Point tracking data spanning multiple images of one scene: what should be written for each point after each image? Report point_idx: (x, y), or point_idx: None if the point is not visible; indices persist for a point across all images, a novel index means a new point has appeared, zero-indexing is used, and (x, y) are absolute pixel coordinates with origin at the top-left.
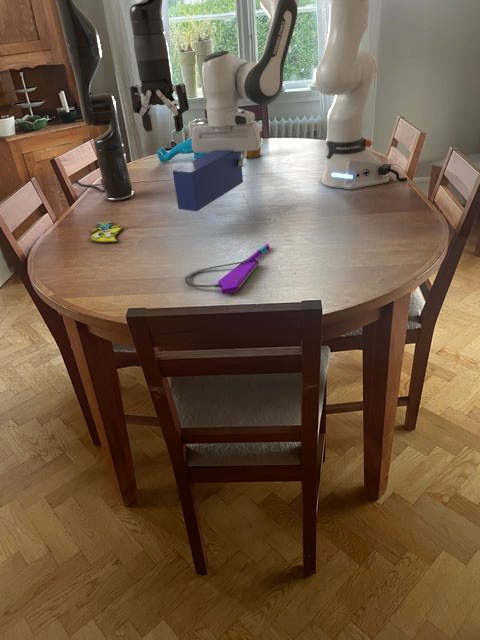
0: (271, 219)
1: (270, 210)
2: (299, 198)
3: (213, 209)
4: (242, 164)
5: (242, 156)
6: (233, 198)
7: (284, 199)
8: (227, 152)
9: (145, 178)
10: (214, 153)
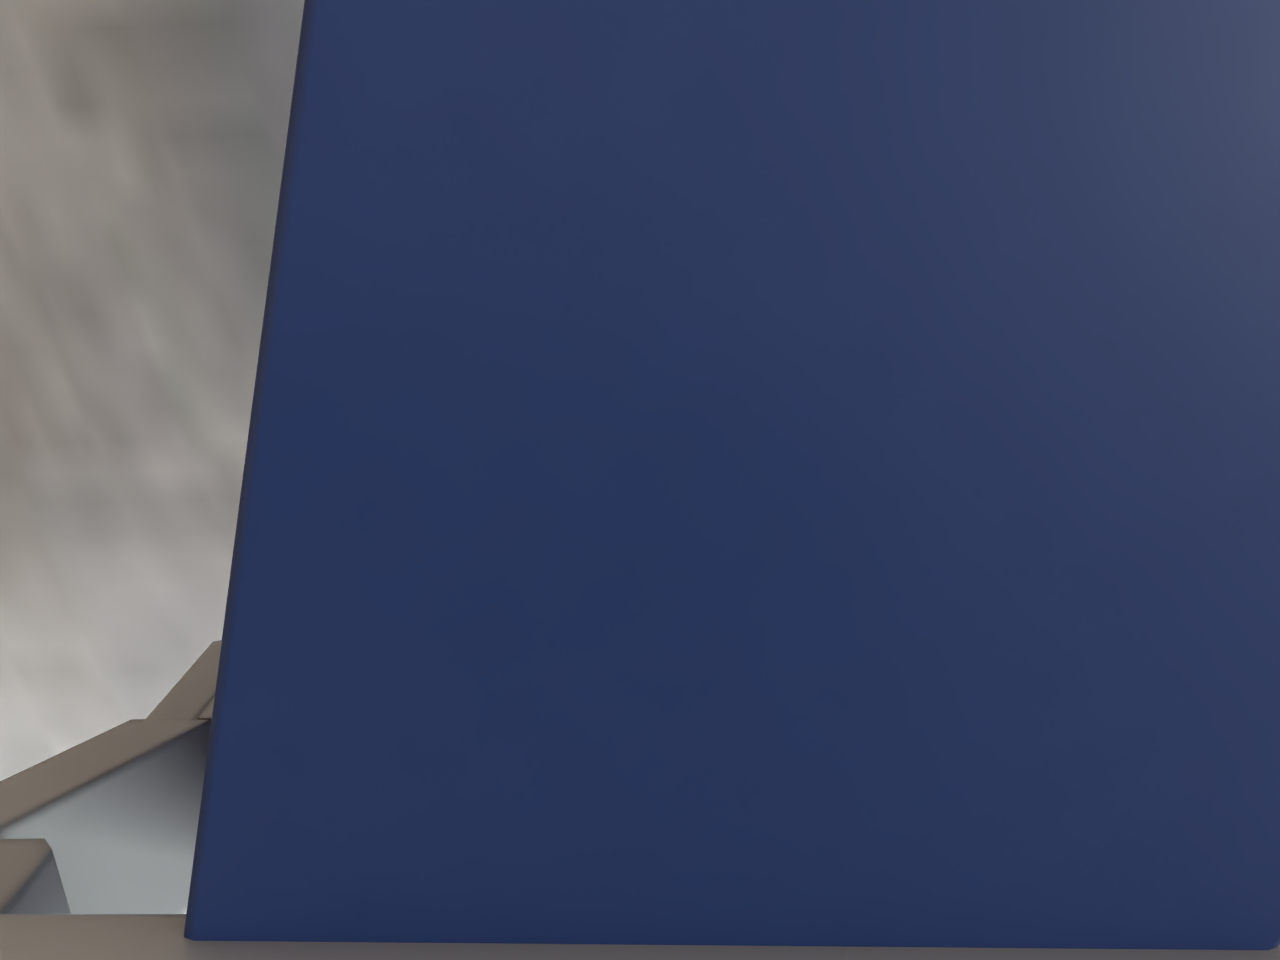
0: (48, 75)
1: (178, 381)
2: (6, 729)
3: None
4: (203, 661)
5: (39, 805)
6: None
7: (151, 702)
8: (360, 616)
9: None
10: (1145, 475)
